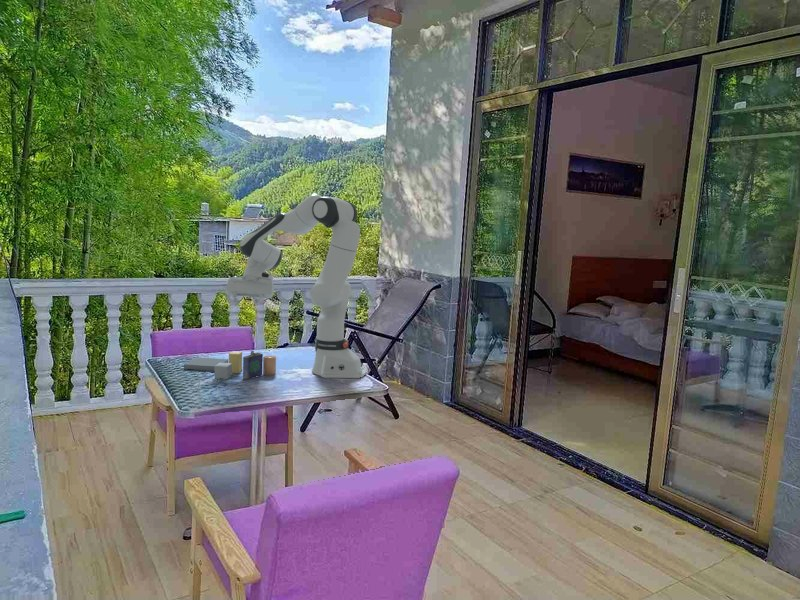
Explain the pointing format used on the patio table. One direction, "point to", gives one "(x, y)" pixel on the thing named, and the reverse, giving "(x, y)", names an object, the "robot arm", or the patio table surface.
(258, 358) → the flask
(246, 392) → the patio table surface
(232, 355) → the ochre block
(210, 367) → the slate tile
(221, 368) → the grey block
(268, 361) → the brown upright cylinder
